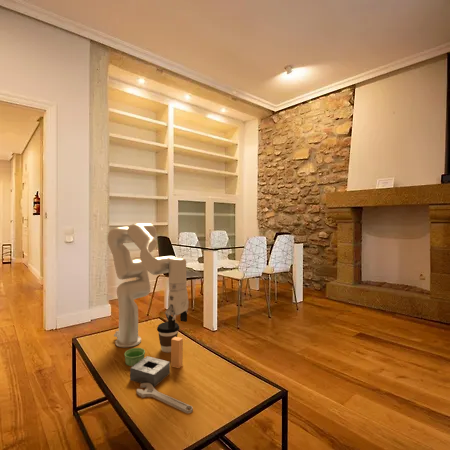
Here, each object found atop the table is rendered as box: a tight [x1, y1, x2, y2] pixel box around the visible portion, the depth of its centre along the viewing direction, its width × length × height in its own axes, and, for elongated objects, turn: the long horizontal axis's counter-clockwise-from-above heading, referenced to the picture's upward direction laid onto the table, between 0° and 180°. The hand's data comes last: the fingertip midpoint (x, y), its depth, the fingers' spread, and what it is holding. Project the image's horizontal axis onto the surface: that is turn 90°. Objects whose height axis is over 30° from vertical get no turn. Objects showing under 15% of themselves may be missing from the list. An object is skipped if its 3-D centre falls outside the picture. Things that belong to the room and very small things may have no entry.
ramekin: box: [123, 347, 146, 367], centre depth 129 cm, size 9×9×4 cm
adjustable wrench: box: [136, 383, 193, 414], centre depth 103 cm, size 25×6×2 cm, turn 55°
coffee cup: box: [156, 321, 180, 353], centre depth 141 cm, size 11×11×12 cm
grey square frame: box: [129, 355, 171, 388], centre depth 117 cm, size 12×11×5 cm
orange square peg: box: [170, 336, 184, 369], centre depth 126 cm, size 3×4×12 cm
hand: (177, 325), depth 126 cm, fingers open, 9 cm apart
